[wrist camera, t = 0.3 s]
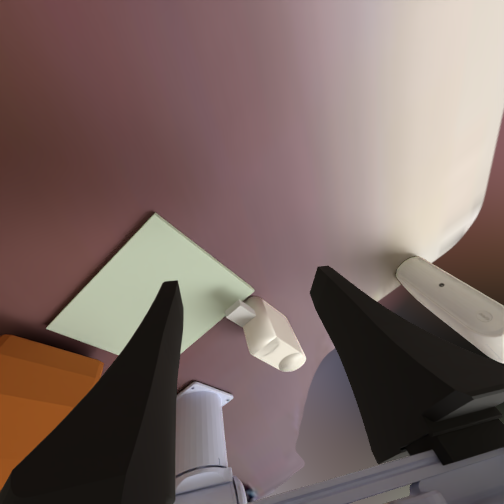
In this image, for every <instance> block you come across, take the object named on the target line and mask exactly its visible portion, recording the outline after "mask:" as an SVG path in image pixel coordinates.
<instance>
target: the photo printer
mask: <svg viewBox="0 0 504 504" xmlns="http://www.w3.org/2000/svg"><path fill="white" fill-rule="evenodd" d="M396 277H397V278H398V280H399V281H400V282H401V284H402V285H403V286H404V287H405V288H406V289H407V290H408V291H409V292H410V293H411V294H412V295H413V296H414V297H415V298H416V299H417V300H418V301H419V302H421V303H422V304H423V305H424V306H425V307H426V308H428V309H429V310H430V311H431V312H433V313H434V314H435V315H436V316H438V317H439V318H440V319H441V320H443V321H444V322H445V323H446V324H448V325H449V326H450V327H452V328H453V329H454V330H455V331H457V332H458V333H459V334H461V335H462V336H463V337H464V338H466V339H467V340H468V341H470V342H471V343H472V344H473V345H475V346H476V347H477V348H478V349H479V350H481V351H482V352H483V353H485V354H486V355H487V356H489V357H490V358H492V359H494V360H496V361H498V362H501V363H504V306H503V305H501V304H499V303H498V302H496V301H494V300H493V299H491V298H489V297H488V296H486V295H484V294H483V293H481V292H479V291H477V290H476V289H474V288H472V287H471V286H469V285H467V284H466V283H464V282H462V281H460V280H459V279H457V278H455V277H454V276H452V275H450V274H449V273H447V272H445V271H444V270H442V269H440V268H438V267H437V266H435V265H433V264H432V263H430V262H428V261H427V260H425V259H423V258H421V257H419V256H416V257H411V258H409V259H407V260H406V261H404V262H403V263H402V264H401V265H400V266H399V267H398V269H397V273H396Z"/></svg>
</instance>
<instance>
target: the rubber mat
mask: <svg viewBox="0 0 504 504" xmlns="http://www.w3.org/2000/svg"><path fill="white" fill-rule="evenodd" d="M175 280H178V284H179V289H180V293H181V298H182V303H183V307H184V322H183V336H182V344H181V352H180V354H181V353H182V352H183V351H184V350H186V349H187V348H188V347H189V346H190V345H192V344H193V343H194V342H195V341H196V340H197V339H199V338H200V337H201V336H202V335H203V334H205V333H206V332H207V331H208V330H209V329H210V328H212V327H213V326H214V325H215V324H216V323H218V322H219V321H220V320H221V319H222V318H223V317H225V316H226V314H225V311H226V310H227V309H228V308H229V307H230V306H232V305H233V304H234V303H235V302H236V301H237V300H239V299H240V300H241V301H244V300H245V299H246V298H247V297H248V296H250V295H251V294H252V293H253V292H254V288H252V287H251V286H250V285H249V284H247V283H246V282H245V281H243V280H242V279H241V278H240V277H238V276H237V275H236V274H234V273H233V272H232V271H230V270H229V269H228V268H227V267H225V266H224V265H223V264H221V263H220V262H219V261H218V260H216V259H215V258H214V257H212V256H211V255H210V254H208V253H207V252H206V251H205V250H203V249H202V248H201V247H199V246H198V245H197V244H196V243H194V242H193V241H192V240H190V239H189V238H188V237H187V236H185V235H184V234H183V233H181V232H180V231H179V230H177V229H176V228H175V227H174V226H172V225H171V224H170V223H168V222H167V221H166V220H165V219H163V218H162V217H161V216H159V215H158V214H157V213H154V214H153V215H152V216H151V217H150V218H149V219H148V221H147V222H146V223H145V224H144V225H143V226H142V227H141V228H140V229H139V230H138V231H137V232H136V233H135V234H134V235H133V236H132V237H131V238H130V239H129V241H128V242H127V243H126V244H125V245H124V246H123V247H122V248H121V249H120V250H119V251H118V252H117V253H116V254H115V255H114V256H113V257H112V258H111V260H110V261H109V262H108V263H107V264H106V265H105V266H104V267H103V268H102V269H101V270H100V271H99V272H98V273H97V274H96V275H95V276H94V277H93V278H92V280H91V281H90V282H89V283H88V284H87V285H86V286H85V287H84V288H83V289H82V290H81V291H80V292H79V293H78V294H77V295H76V296H75V297H74V299H73V300H72V301H71V302H70V303H69V304H68V305H67V306H66V307H65V308H64V309H63V310H62V311H61V312H60V313H59V314H58V315H57V316H56V317H55V319H54V320H53V321H52V322H51V323H50V324H49V325H48V326H47V328H46V329H48V330H51V331H54V332H56V333H59V334H62V335H65V336H67V337H70V338H73V339H76V340H78V341H81V342H84V343H87V344H89V345H92V346H95V347H98V348H100V349H103V350H106V351H109V352H111V353H114V354H117V355H119V354H120V353H121V352H122V350H123V349H124V347H125V346H126V345H127V343H128V342H129V340H130V339H131V337H132V336H133V334H134V333H135V331H136V330H137V328H138V327H139V325H140V324H141V322H142V320H143V319H144V317H145V315H146V314H147V312H148V310H149V309H150V307H151V305H152V303H153V301H154V299H155V298H156V296H157V294H158V292H159V289H160V287H161V285H162V283H163V282H165V281H175Z"/></svg>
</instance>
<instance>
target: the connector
mask: <svg viewBox="0 0 504 504" xmlns="http://www.w3.org/2000/svg"><path fill="white" fill-rule="evenodd" d="M225 314H226V318H228V319H229V320H231V321H233V322H234V323H236V324H238V325H239V326H241V327H243V329H244V333H245V337H246V341H247V345H248V349H249V352H250V354H251V355H253V356H255V357H257V358H258V359H260V360H262V361H264V362H266V363H268V364H270V365H272V366H273V367H275V368H277V369H279V370H281V371H284V372H290V371H294V370H296V369H298V368H300V367H301V366H302V365H303V364H304V363H305V361H306V357H305V355H304V352H303V350H302V348H301V346H300V344H299V342H298V340H297V338H296V336H295V334H294V332H293V330H292V328H291V325H290V323H289V321H288V319H287V318H286V317H285V316H284V315H283V314H281V313H280V312H279V311H277V310H276V309H275V308H273V307H272V306H271V305H270V304H268V303H267V302H266V301H264V300H263V299H262V298H260V297H255V296H254V297H249V298H246V299H245V300H244V301H241V300H240V299H239V300H237V301H236V302H235V303H234V304H233V305H232V306H230V307H229V308H228V309H227V310H226V311H225Z"/></svg>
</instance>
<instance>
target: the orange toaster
mask: <svg viewBox="0 0 504 504" xmlns="http://www.w3.org/2000/svg"><path fill="white" fill-rule="evenodd" d="M103 365H104V363H102V362H101V361H99V360H97V359H93V358H90V357H86V356H83V355H80V354H76V353H73V352H69V351H66V350H63V349H59V348H56V347H52V346H49V345H46V344H42V343H39V342H35V341H32V340H28V339H25V338H22V337H18V336H15V335H8V334H4V335H2V336H0V491H1V489H2V488H3V486H4V484H5V482H6V481H7V479H8V477H9V475H10V473H11V472H12V470H13V469H14V468H15V467H16V466H17V465H18V464H19V463H20V462H21V461H22V460H23V459H24V458H25V457H26V456H27V455H28V454H29V453H30V452H31V451H32V450H33V449H34V448H35V447H36V446H37V445H38V444H39V443H40V442H41V441H42V440H43V439H44V438H45V437H46V436H47V435H48V434H50V433H51V432H52V431H53V430H54V429H55V428H56V426H57V425H58V424H59V423H60V422H61V421H62V420H63V419H64V418H65V417H66V416H67V415H68V414H69V413H70V412H71V411H72V410H73V408H74V407H75V406H76V405H77V404H78V403H79V402H80V401H81V400H82V399H83V398H84V397H85V395H86V394H87V393H88V392H89V391H90V390H91V389H92V388H93V386H94V385H95V384H96V383H97V382H98V381H99V379H100V378H101V374H102V371H103Z"/></svg>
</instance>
